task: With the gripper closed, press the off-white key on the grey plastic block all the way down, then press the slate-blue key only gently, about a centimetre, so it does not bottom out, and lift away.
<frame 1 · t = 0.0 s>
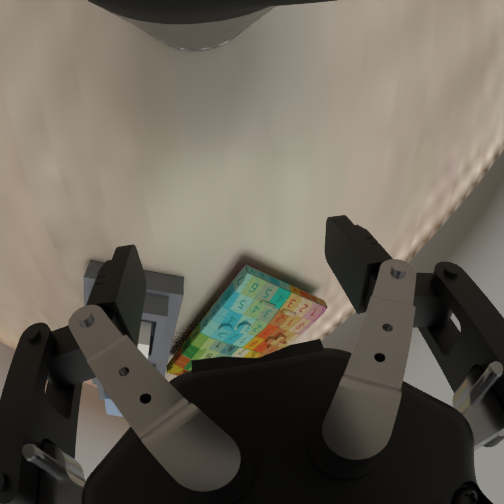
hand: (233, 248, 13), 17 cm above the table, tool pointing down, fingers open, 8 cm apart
grey plastic block: (130, 332, 38), on the table
white key: (125, 344, 29), point 7 cm above the table, slide at 0.0 cm
puzzle game: (237, 321, 41), on the table
blue key: (124, 400, 36), point 7 cm above the table, slide at 0.0 cm
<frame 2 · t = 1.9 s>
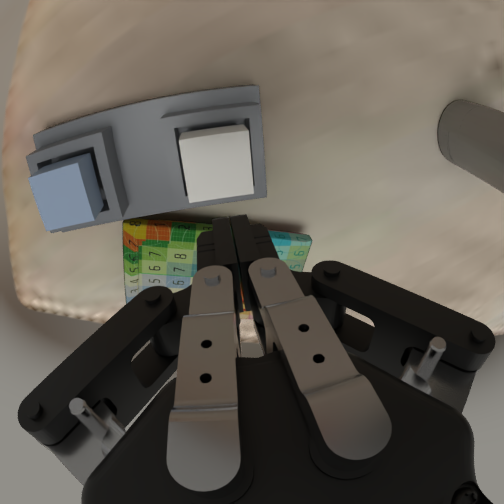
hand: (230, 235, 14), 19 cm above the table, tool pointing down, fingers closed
grey plastic block: (149, 153, 29), on the table
white key: (216, 161, 23), point 7 cm above the table, slide at 0.0 cm
puzzle game: (211, 258, 37), on the table
blue key: (66, 191, 22), point 7 cm above the table, slide at 0.0 cm
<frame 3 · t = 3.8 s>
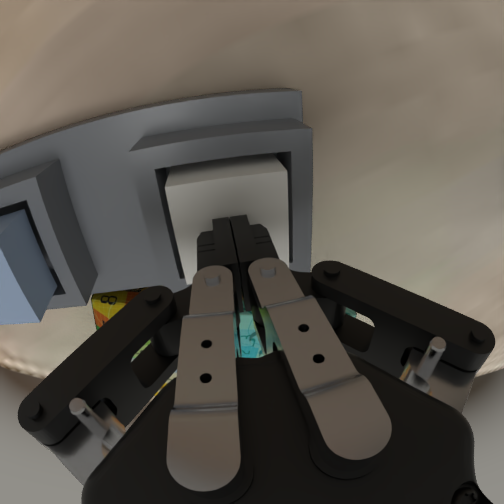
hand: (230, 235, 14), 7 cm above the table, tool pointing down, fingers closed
grey plastic block: (125, 194, 19), on the table
white key: (229, 216, 15), point 6 cm above the table, slide at 1.6 cm, touching gripper
puzzle game: (218, 328, 27), on the table
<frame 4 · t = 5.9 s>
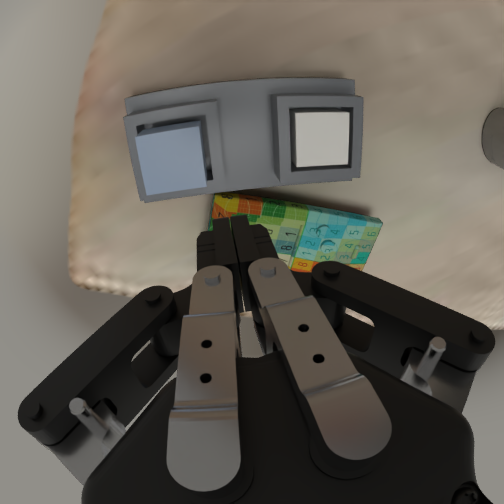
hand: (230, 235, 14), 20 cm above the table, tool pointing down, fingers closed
grey plastic block: (243, 130, 30), on the table
white key: (318, 135, 27), point 5 cm above the table, slide at 2.6 cm
puzzle game: (286, 237, 39), on the table
blue key: (173, 156, 24), point 7 cm above the table, slide at 0.0 cm
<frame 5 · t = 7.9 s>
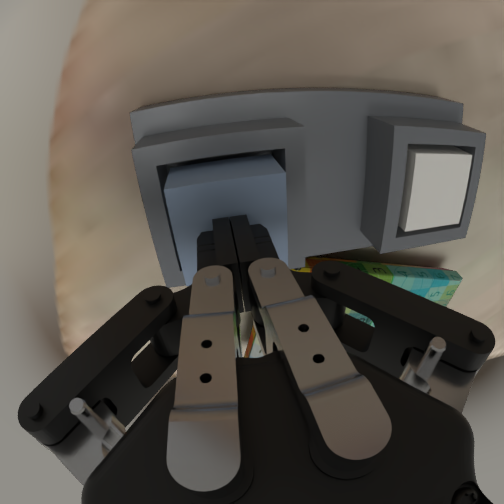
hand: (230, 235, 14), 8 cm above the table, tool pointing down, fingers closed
grey plastic block: (313, 165, 21), on the table
white key: (427, 182, 17), point 5 cm above the table, slide at 2.6 cm
puzzle game: (348, 298, 29), on the table
blue key: (228, 218, 15), point 7 cm above the table, slide at 0.8 cm, touching gripper
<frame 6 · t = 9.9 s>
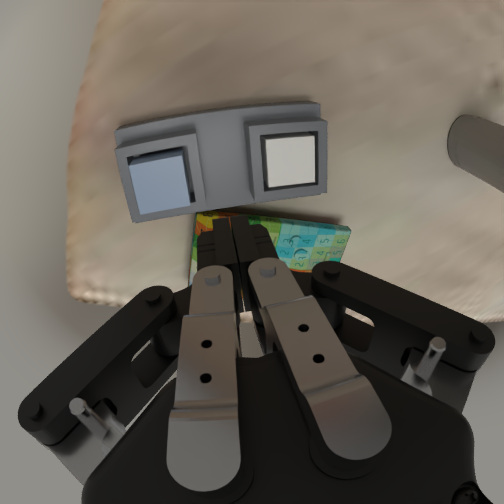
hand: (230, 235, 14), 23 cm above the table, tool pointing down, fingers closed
grey plastic block: (221, 154, 34), on the table
white key: (287, 157, 31), point 5 cm above the table, slide at 2.6 cm
puzzle game: (263, 247, 43), on the table
blue key: (161, 180, 28), point 6 cm above the table, slide at 1.0 cm
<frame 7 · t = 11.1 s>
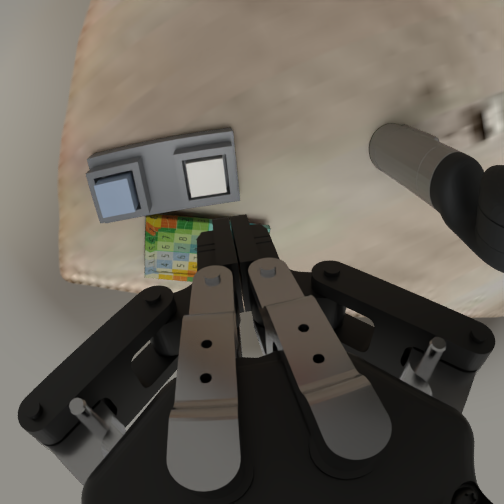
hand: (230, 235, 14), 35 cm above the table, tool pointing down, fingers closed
grey plastic block: (164, 172, 46), on the table
white key: (206, 174, 42), point 5 cm above the table, slide at 2.6 cm
puzzle game: (204, 241, 54), on the table
blue key: (116, 194, 40), point 6 cm above the table, slide at 1.0 cm
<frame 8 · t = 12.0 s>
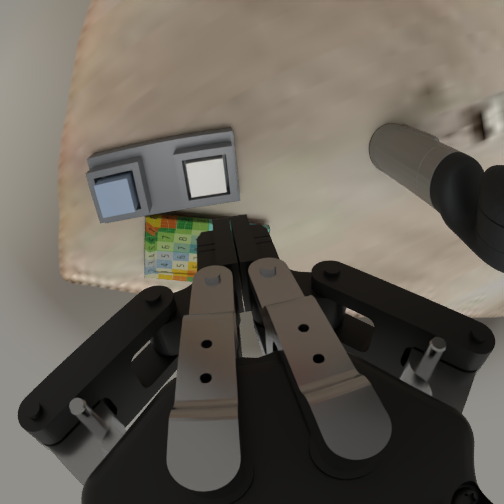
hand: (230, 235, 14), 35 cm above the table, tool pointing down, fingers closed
grey plastic block: (164, 172, 46), on the table
white key: (206, 174, 42), point 5 cm above the table, slide at 2.6 cm
puzzle game: (203, 241, 54), on the table
blue key: (116, 194, 40), point 6 cm above the table, slide at 1.0 cm
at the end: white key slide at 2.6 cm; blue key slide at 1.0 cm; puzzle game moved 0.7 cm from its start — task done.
